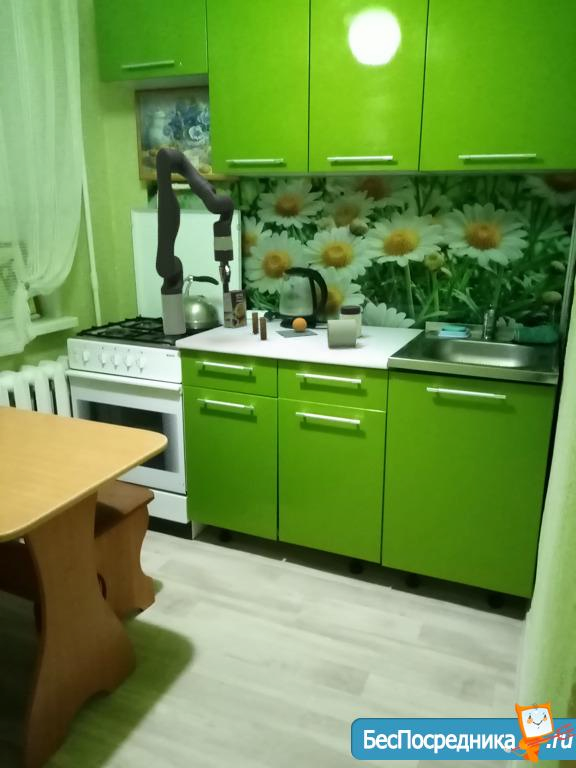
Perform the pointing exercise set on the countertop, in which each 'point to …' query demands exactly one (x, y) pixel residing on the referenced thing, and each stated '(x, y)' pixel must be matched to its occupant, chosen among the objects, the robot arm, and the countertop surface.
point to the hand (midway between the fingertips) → (226, 292)
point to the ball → (299, 325)
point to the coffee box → (234, 308)
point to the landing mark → (296, 333)
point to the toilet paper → (341, 333)
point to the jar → (352, 316)
